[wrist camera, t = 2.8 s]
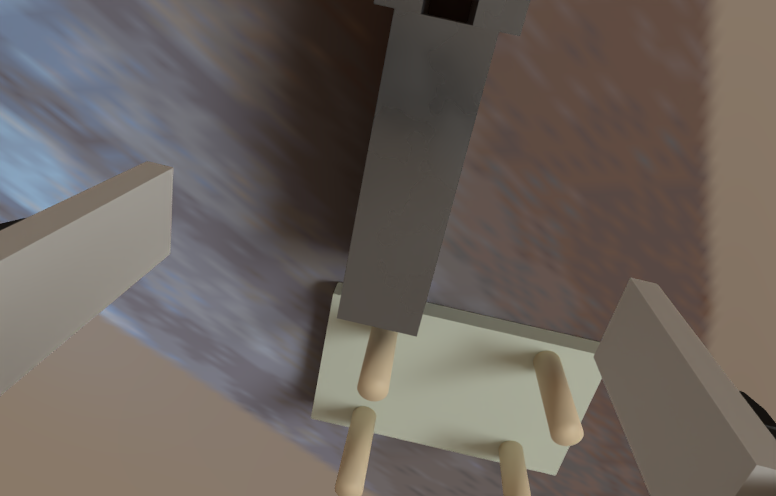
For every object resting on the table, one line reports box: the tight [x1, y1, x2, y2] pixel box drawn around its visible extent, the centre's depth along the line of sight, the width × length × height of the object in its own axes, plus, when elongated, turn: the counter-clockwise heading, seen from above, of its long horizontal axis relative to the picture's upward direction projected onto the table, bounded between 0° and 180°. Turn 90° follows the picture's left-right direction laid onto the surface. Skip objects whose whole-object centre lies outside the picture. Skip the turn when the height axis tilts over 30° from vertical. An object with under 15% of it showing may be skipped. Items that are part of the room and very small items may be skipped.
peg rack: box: [311, 282, 602, 496], centre depth 31 cm, size 17×10×8 cm, turn 78°
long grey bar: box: [337, 0, 530, 337], centre depth 25 cm, size 17×6×7 cm, turn 168°
